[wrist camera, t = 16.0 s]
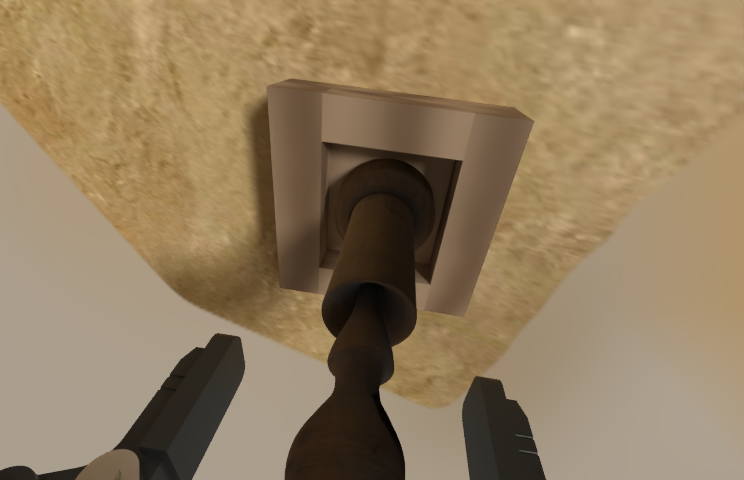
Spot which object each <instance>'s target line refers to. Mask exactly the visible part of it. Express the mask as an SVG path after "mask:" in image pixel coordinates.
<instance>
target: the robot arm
mask: <svg viewBox="0 0 744 480" xmlns="http://www.w3.org/2000/svg"><path fill="white" fill-rule="evenodd" d="M244 370H245V361H244V355H243V349H242V343H241V339H240V337H238V336H232V335H226V334H219V333H217V334H215V335H214V336H213V337H212V338H211V340H210V341H209V343H208V344H207V346H206V347H205V348H198V347H196V348H195V349H193V350H192V351H191V352H190V353H188V354H187V355H186V356H185V357H183V358H182V359H181V360H180V361H179V363H178V364H177V365H176V367H175V368H174V369H173V371H172V372H171V374H170V376H169V377H168V378H167V379H166V380H165V382H164V383H163V385H162V386H161V389H160V390H158V391H157V393H156V394H155V396H154V397H153V398H152V400H151V401H150V402H149V404H148V405H147V407H146V408H145V409H144V411H143V412H142V413H141V415H140V416H139V418H138V419H137V420H136V422H135V423H134V424H133V426H132V427H131V429H130V430H129V431H128V433H127V434H126V435H125V437H124V438H123V439H122V441H121V442H120V443H119V444H118V445H117V446H116V447H115V448H114V449H113V450H112V451H110V452H107V453H105V454H104V455H101V456H99V457H98V458H96V459H95V460H93V461H92V462H91V463H89V464H88V465H86V466H83V467H79V468H73V469H68V470H63V471H57V472H52V473H46V474H41V475H37V474H36V473H35V472H34V471H33V470H32V469H30V468H28V467H26V466H13V467H9V468H6V469H3V470H0V480H192V478H193V476H194V474H195V472H196V470H197V468H198V466H199V464H200V462H201V460H202V458H203V456H204V454H205V452H206V450H207V448H208V446H209V444H210V442H211V441H212V439H213V437H214V434H215V432H216V430H217V429H218V427H219V425H220V423H221V421H222V419H223V417H224V415H225V413H226V411H227V409H228V407H229V405H230V403H231V401H232V399H233V397H234V395H235V393H236V391H237V389H238V387H239V385H240V383H241V381H242V378H243V375H244ZM462 421H463V429H464V437H465V445H466V453H467V460H468V468H469V476H470V480H546V478H545V475H544V472H543V469H542V465H541V462H540V458H539V456H538V455H537V448H536V445H535V442H534V440H533V435H532V432H531V428H530V425H529V422H528V418H527V417H526V415H525V413H524V412H523V410H522V409H521V407H520V406H519V404H518V403H517V401H514V400H509V399H506V396H505V392H504V388H503V385H502V383H501V381H500V380H497V379H491V378H485V377H479V376H476V377H475V378H474V380H473V382H472V384H471V387H470V389H469V391H468V393H467V396H466V398H465V401H464V403H463V409H462Z"/></svg>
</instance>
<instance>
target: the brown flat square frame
mask: <svg viewBox="0 0 744 480" xmlns="http://www.w3.org/2000/svg"><path fill="white" fill-rule="evenodd" d="M267 98H268V113H269V129H270V144H271V160H272V175H273V191H274V206H275V221H276V237H277V252H278V268H279V283H280V288H285V289H291V290H297V291H304V292H310V293H316V294H323V295H325V294H326V291H327V288H328V285H329V283H330V280H331V277H332V274H333V271H334V268H335V265H336V263H337V259H338V256H339V253H340V250H341V247H342V244H343V241H344V240H343V239H342V238H341V237H340V235H339V233H338V231H337V229H336V227H335V224H334V220H333V206H334V201H335V198H336V196H337V193H338V191H339V188H340V186H341V184H342V182H343V180H344V179H345V178H346V176H347V175H348V174H349V173H350V172H351V171H352V170H353V169H355V168H356V167H357V166H359V165H361V164H363V163H365V162H367V161H370V160H374V159H383V158H390V159H397V160H401V161H403V162H406V163H408V164H410V165H412V166H413V167H415V168H416V169H417V170H418V171H420V172H421V173H422V174H423V175H424V177H425V178H426V179H427V181H428V183H429V184H430V187H431V189H432V192H433V196H434V203H435V212H436V217H435V224H434V227H433V230H432V232H431V234H430V236H429V238H428V239H427V240H426V242H425V243H424V244H423V245H422V246H421V247H419V248H418V249H417V250H415V284H416V307H417V309H418V310H424V311H431V312H437V313H443V314H450V315H456V316H462V317H464V316H465V313H466V310H467V307H468V304H469V302H470V299H471V296H472V293H473V290H474V288H475V285H476V282H477V279H478V277H479V274H480V271H481V268H482V265H483V263H484V260H485V257H486V254H487V251H488V249H489V246H490V243H491V240H492V237H493V235H494V232H495V229H496V226H497V224H498V221H499V218H500V215H501V212H502V210H503V207H504V204H505V201H506V198H507V196H508V193H509V190H510V187H511V184H512V182H513V179H514V176H515V173H516V171H517V168H518V165H519V162H520V159H521V157H522V154H523V151H524V148H525V145H526V143H527V140H528V137H529V134H530V132H531V129H532V126H533V123H534V121H533V120H531V119H530V118H529V117H527V116H526V115H524V114H523V113H521V112H520V111H518V110H517V109H515V108H513V107H506V106H498V105H490V104H483V103H475V102H467V101H460V100H452V99H444V98H436V97H429V96H421V95H413V94H406V93H398V92H390V91H383V90H375V89H367V88H360V87H352V86H344V85H336V84H329V83H321V82H313V81H306V80H298V79H288V80H285V81H282V82H279V83H275V84H272V85H269V86H267Z"/></svg>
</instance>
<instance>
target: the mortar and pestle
mask: <svg viewBox="0 0 744 480" xmlns="http://www.w3.org/2000/svg"><path fill="white" fill-rule="evenodd" d="M435 217H436V212H435V203H434V196H433V192H432V189H431V187H430V184H429V183H428V181H427V179H426V178H425V177H424V175H423V174H422V173H421V172H420V171H418V170H417V169H416V168H415V167H413V166H412V165H410V164H408V163H406V162H403V161H401V160H397V159H390V158H383V159H374V160H370V161H367V162H365V163H363V164H361V165H359V166H357V167H356V168H355V169H353V170H352V171H351V172H350V173H349V174H348V175H347V176H346V178H345V179H344V180H343V182H342V184H341V186H340V188H339V191H338V193H337V196H336V198H335V201H334V206H333V220H334V224H335V227H336V229H337V231H338V233H339V235H340V237H341V238H342V239H343V240H344V241H343V244H342V247H341V250H340V253H339V256H338V259H337V263H336V265H335V268H334V271H333V274H332V277H331V280H330V283H329V285H328V288H327V291H326V294H325V297H324V300H323V303H322V317H323V321H324V323H325V325H326V327H327V328H328V330H329V331H330V333H331V334H332V335H333V336H334V337H336V340H335V342H334V344H333V346H332V348H331V351H330V353H329V356H328V367H329V370H330V372H331V373H332V374H333V375H334V376H335V388H334V391H333V393H332V395H331V396H330V397H329V398H328V399H327V400H326V402H324V403H323V404H322V406H320V408H319V409H318V410H317V411H316V412H315V413H314V414H313V415H312V416H311V417H310V418H309V419H308V420H307V422H306V423H305V424H304V425H303V427H302V428H301V429H300V431H299V432H298V434H297V435H296V437H295V439H294V441H293V443H292V445H291V448H290V451H289V454H288V458H287V462H286V469H285V480H405V461H404V455H403V451H402V447H401V444H400V441H399V439H398V437H397V434H396V432H395V430H394V428H393V426H392V424H391V421H390V419H389V417H388V415H387V413H386V412H385V410H384V408H383V406H382V404H381V402H380V395H379V387H380V385H382V384H384V383H386V382H387V381H388V380H389V379H390V378H391V377H392V375H393V373H394V360H393V352H392V348H391V347H392V346H395V345H397V344H399V343H401V342H402V341H404V340H405V339H406V338H407V337H408V336H409V335H410V334H411V333H412V331H413V329H414V327H415V325H416V320H417V307H416V284H415V250H417V249H418V248H419V247H421V246H422V245H423V244H424V243H425V242H426V240H427V239H428V238H429V236H430V234H431V232H432V230H433V227H434V224H435Z"/></svg>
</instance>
